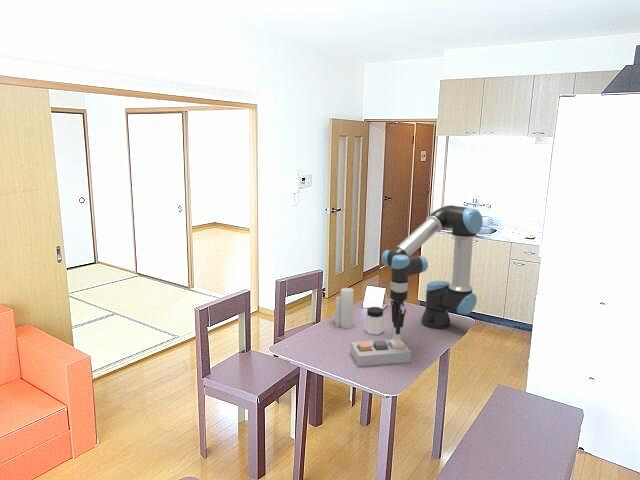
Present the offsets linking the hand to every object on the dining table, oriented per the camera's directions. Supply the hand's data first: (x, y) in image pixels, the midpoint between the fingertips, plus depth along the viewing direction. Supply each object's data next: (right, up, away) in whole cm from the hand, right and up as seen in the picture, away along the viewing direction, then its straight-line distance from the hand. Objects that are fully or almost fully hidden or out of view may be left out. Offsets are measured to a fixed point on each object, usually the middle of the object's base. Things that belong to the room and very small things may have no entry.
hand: (396, 339), depth 214 cm
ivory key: (0, -3, +1) cm, 3 cm away
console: (-7, -8, 0) cm, 11 cm away
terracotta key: (-15, -3, -2) cm, 15 cm away
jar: (-7, -2, +29) cm, 29 cm away
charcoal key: (-7, -3, -1) cm, 8 cm away
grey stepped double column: (-23, 0, +37) cm, 43 cm away
